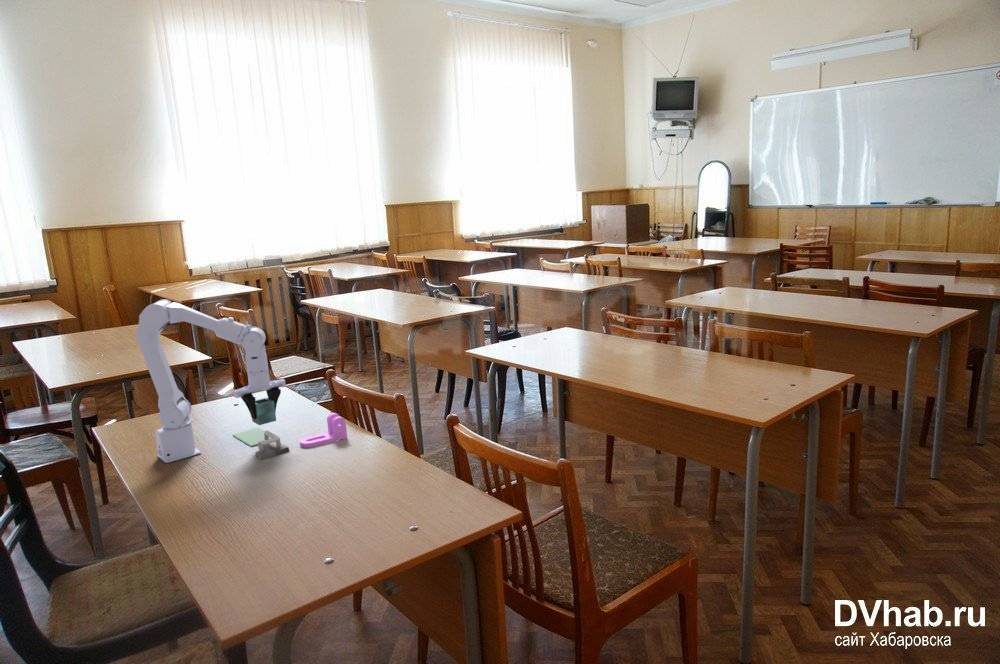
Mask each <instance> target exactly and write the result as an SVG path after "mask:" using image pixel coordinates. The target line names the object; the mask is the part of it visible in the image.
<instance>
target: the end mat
mask: <svg viewBox="0 0 1000 664" xmlns="http://www.w3.org/2000/svg"><path fill="white" fill-rule="evenodd" d="M264 431H265V430H264V429H262V428H260V427H255V428H253V429H252V428H251V429H248V430H244V431H242V432H241V431H240V432H237V433H233V434H232V437H234V438H236V439H238V440H239V441H241V442H242V443H244V444H246V445H248V446H249V447H250V448H252V447H256V446H258V444H259V443H258V441H262V440H265V438H264ZM269 438H271V437H269Z"/></svg>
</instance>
